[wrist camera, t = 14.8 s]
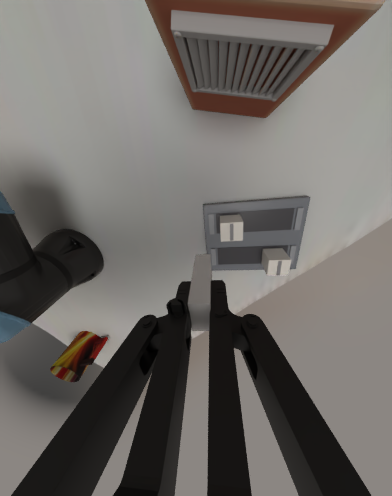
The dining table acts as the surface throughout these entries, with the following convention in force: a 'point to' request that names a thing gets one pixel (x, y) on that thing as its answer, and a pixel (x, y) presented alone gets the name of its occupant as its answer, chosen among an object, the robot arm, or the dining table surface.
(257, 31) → the orange rectangular box
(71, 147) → the dining table surface
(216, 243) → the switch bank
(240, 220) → the tab front
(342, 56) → the dining table surface
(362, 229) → the dining table surface
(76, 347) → the mug
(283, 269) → the tab back
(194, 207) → the dining table surface
